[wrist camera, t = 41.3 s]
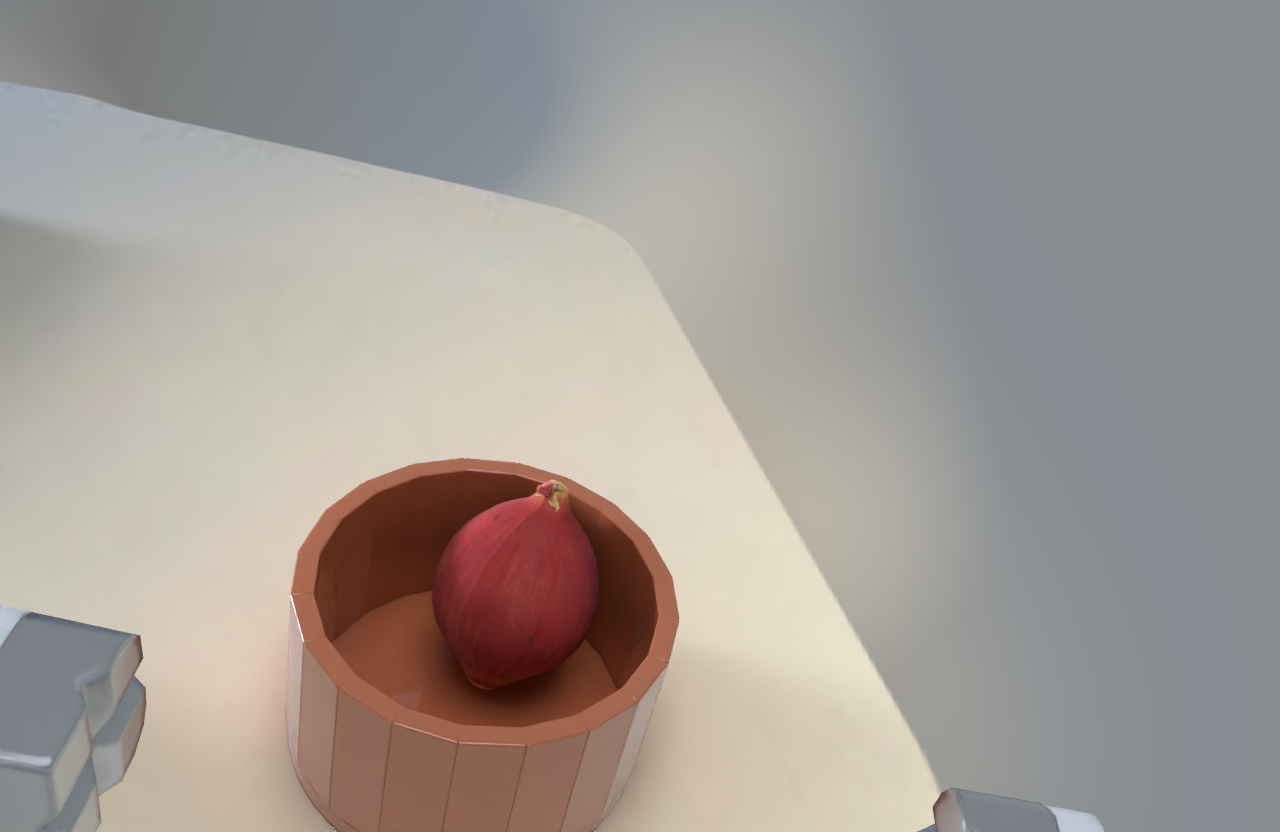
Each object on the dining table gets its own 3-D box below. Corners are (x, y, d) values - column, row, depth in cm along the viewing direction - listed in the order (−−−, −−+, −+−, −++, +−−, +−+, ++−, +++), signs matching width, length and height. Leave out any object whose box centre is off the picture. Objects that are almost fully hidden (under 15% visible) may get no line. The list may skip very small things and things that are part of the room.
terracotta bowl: (619, 600, 48) (655, 474, 44) (652, 880, 38) (702, 753, 34) (309, 579, 45) (316, 443, 41) (262, 875, 36) (264, 736, 31)
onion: (412, 630, 44) (485, 435, 43) (555, 677, 44) (630, 487, 43) (392, 693, 38) (475, 470, 37) (557, 746, 39) (642, 529, 38)
